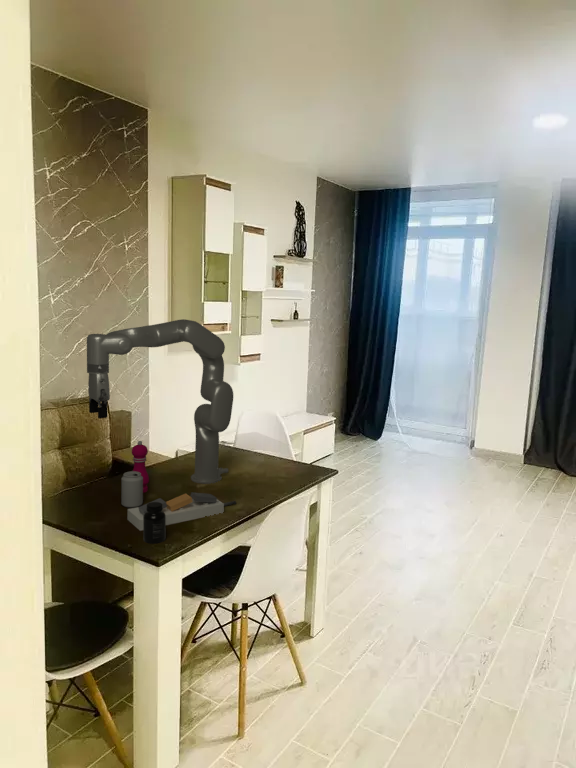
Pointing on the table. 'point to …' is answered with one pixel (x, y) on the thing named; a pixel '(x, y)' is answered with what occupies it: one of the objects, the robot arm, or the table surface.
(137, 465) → the pepper mill
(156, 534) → the supplement bottle
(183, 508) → the power strip
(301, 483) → the table surface
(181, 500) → the rocker
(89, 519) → the table surface
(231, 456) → the table surface
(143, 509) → the block
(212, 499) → the block
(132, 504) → the can
